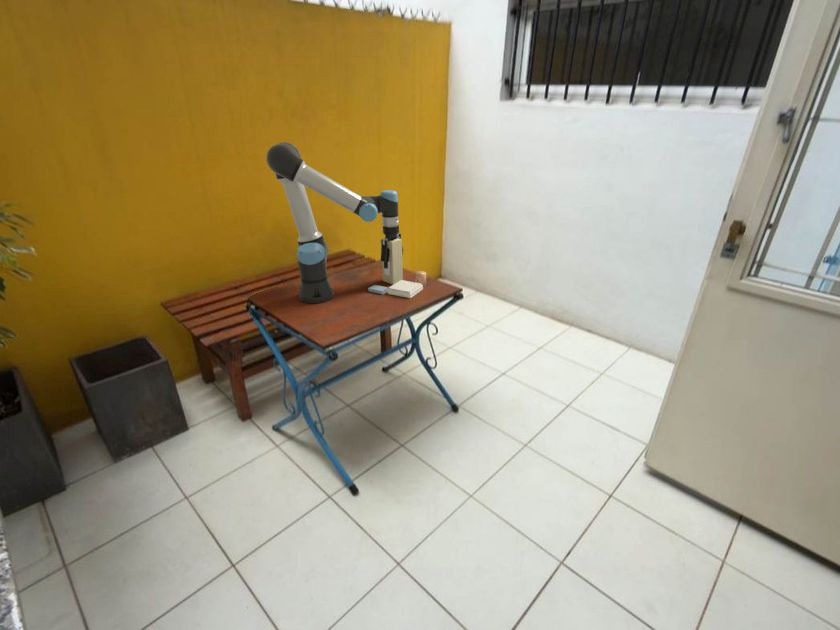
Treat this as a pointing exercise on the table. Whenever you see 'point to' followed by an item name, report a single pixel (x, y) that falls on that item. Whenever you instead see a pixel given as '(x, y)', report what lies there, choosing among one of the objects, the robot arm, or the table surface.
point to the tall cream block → (394, 262)
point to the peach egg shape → (421, 277)
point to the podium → (405, 289)
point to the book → (378, 289)
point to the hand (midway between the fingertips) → (393, 271)
